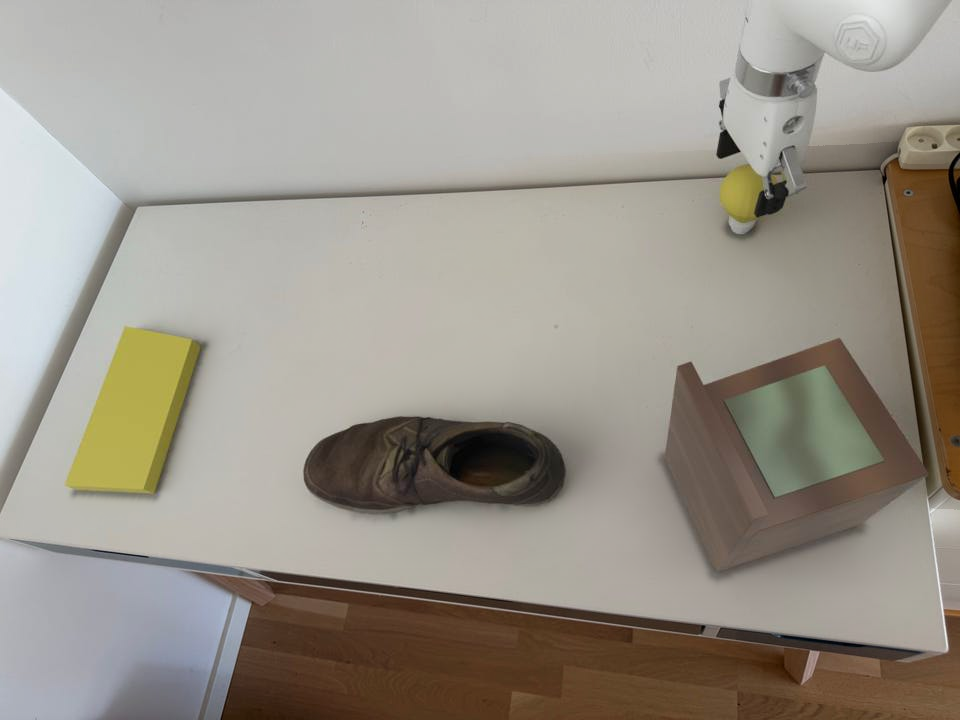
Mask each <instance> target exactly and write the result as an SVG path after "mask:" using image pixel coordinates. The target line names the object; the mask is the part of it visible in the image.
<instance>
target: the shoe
mask: <svg viewBox="0 0 960 720" xmlns="http://www.w3.org/2000/svg"><path fill="white" fill-rule="evenodd" d="M302 472H303V473H302V475H303V482H304V485H305V487H306V489H307V490H308V492H309V493H310V494H312V496H313V497H315V498H317V499H319V500H320V501H322V502H324V503H326V504H329V505H331V506H333V507H336V508H339V509H342V510H346V511H349V512H355V513H362V514H363V513H364V514H372V515H373V514H374V515H375V514H377V515H378V514H391V513H395V512H400V511H404V510H408V509H411V508H414V507H417V506H427V505H434V504H441V503H449V502H461V501H462V502H473V503H483V504H492V505H493V504H497V505H498V504H499V505H510V506H517V507H538V506H541V505H545V504H548V503H549V502H551V501H552V500H554V499H555V498H556V497H557V496H558V494H559V493H560V492H561V491H560V490H561V489H562V488H563V486H564V482H565V478H566V465H565V461H564V458H563V455H562V453H561V452H560V450H559V448H558V447H557V444H555V443H554V442H553V441H552V440H551V439H550V438H548V436H546V435H544V434H542V433H541V432H538V431H536V430H533V429H531V428H530V427H529V428H528V427H526V426H525V425H523V424H519V423H515V422H511V421H506V422H501V421H474V422H473V421H462V420H461V421H460V420H458V421H457V420H451V419H450V420H449V419H444V418H443V419H442V418H434V417H431V416H426V417H425V416H424V417H422V416H404V415H403V416H402V415H400V416H394V417H387V418H382V419H379V420H376V421H375V420H374V421H371V422H362V423H356V424H353V425H351V426H350V427H348V428H346V429H343V430H340V431H338V432H335V433H333V434H330V435H328V436H326V437H324V438H321V440H319V441H318V442H317V443H316V444H315V445H314V447H313V448H311V450H310V451H309V453H308V455H307V456H306V459H305V462H304V466H303V471H302Z"/></svg>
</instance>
